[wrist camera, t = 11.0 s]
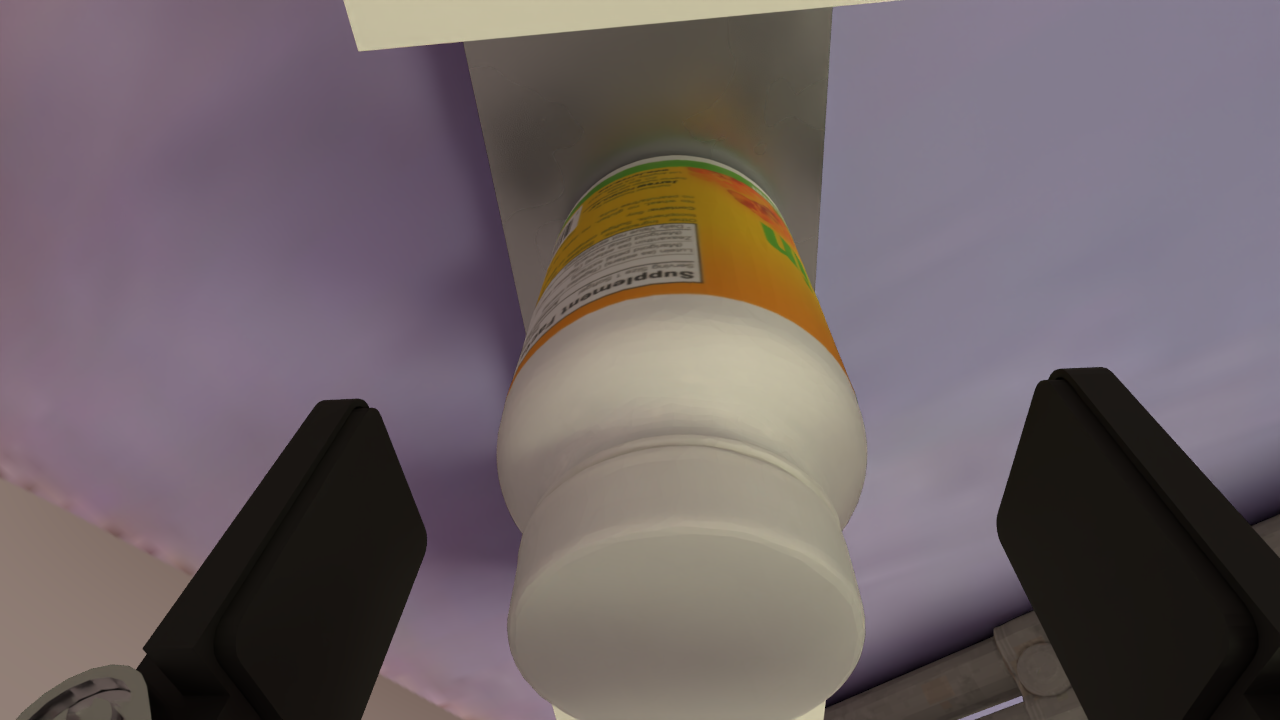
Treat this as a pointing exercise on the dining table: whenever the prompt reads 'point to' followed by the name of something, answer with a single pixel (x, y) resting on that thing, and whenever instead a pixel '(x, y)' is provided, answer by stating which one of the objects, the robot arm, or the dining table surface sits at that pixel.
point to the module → (535, 17)
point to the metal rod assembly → (989, 677)
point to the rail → (651, 117)
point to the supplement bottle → (681, 461)
